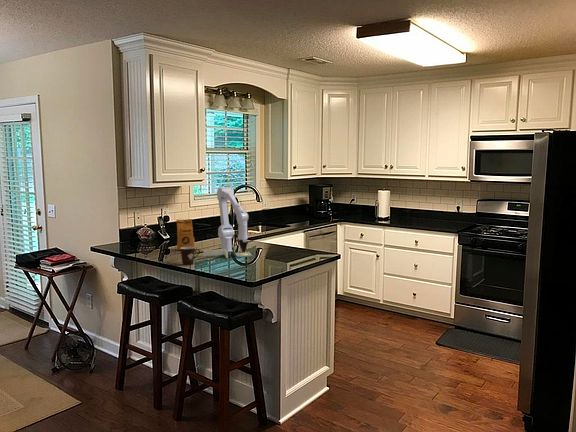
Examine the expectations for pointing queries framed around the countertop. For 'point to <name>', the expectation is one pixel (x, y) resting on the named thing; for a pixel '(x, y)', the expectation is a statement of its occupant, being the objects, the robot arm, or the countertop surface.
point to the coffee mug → (188, 255)
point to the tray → (243, 254)
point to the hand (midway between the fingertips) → (243, 251)
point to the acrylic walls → (215, 252)
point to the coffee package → (185, 233)
